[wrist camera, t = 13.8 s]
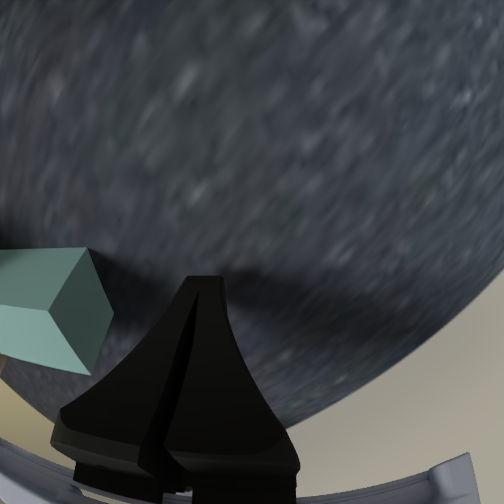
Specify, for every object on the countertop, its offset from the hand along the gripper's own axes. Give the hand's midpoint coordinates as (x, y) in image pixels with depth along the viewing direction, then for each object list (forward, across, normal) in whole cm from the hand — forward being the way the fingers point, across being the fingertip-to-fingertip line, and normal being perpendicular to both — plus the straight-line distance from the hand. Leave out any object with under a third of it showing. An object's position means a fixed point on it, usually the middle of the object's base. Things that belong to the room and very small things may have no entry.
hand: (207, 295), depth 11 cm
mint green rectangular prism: (+1, +11, 0) cm, 11 cm away
